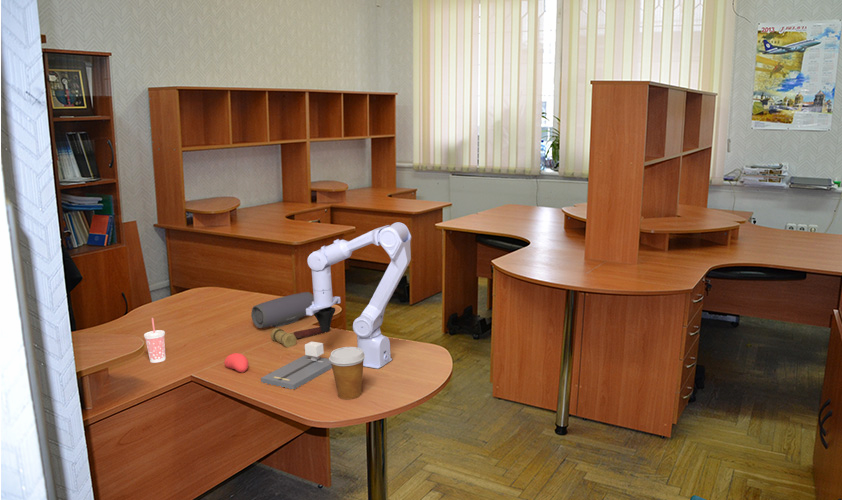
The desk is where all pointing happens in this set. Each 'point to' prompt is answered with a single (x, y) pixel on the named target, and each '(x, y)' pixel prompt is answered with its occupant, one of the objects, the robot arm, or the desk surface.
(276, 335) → the gavel
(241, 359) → the red kidney bean
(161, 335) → the beverage cup
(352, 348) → the disposable coffee cup
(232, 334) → the desk surface
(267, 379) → the grey slider base
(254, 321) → the bluetooth speaker
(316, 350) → the fader
